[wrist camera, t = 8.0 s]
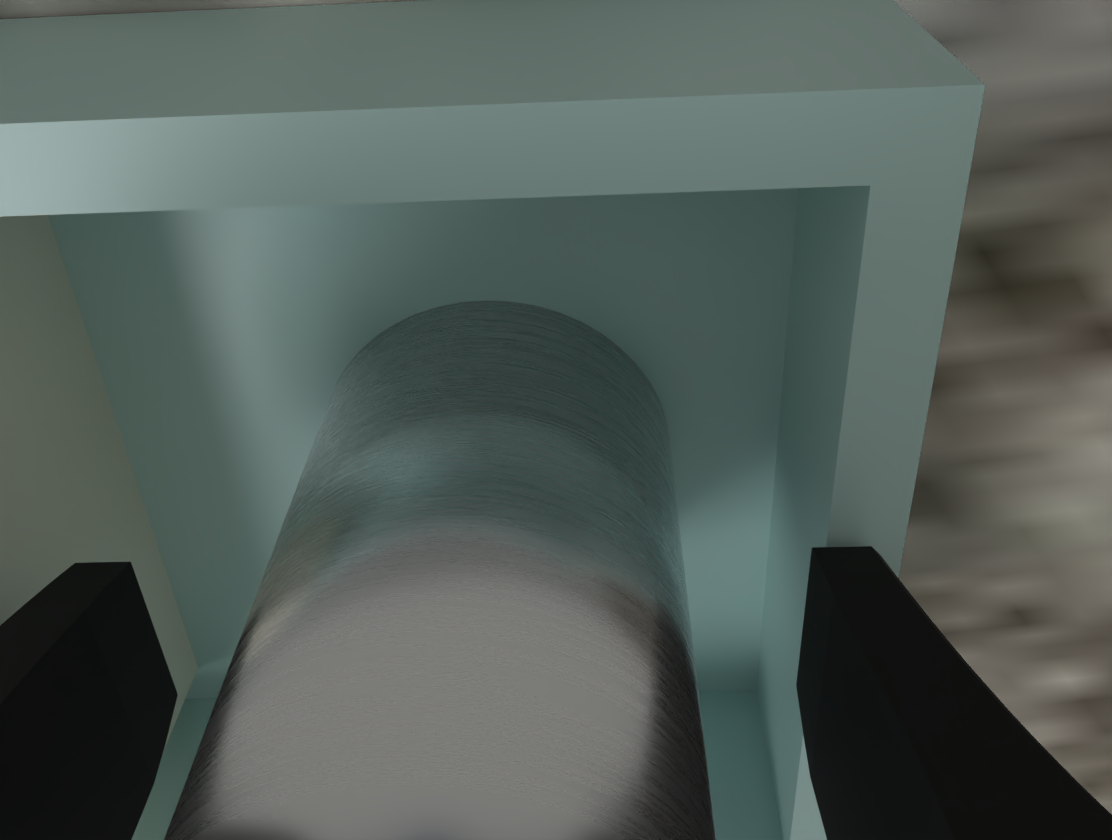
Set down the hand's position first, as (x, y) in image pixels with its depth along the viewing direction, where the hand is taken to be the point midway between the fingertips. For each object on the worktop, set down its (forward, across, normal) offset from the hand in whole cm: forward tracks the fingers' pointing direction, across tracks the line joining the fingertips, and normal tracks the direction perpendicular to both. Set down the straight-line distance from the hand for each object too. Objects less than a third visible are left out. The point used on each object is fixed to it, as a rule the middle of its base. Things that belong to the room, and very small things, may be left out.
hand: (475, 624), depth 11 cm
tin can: (+3, 0, 0) cm, 3 cm away
